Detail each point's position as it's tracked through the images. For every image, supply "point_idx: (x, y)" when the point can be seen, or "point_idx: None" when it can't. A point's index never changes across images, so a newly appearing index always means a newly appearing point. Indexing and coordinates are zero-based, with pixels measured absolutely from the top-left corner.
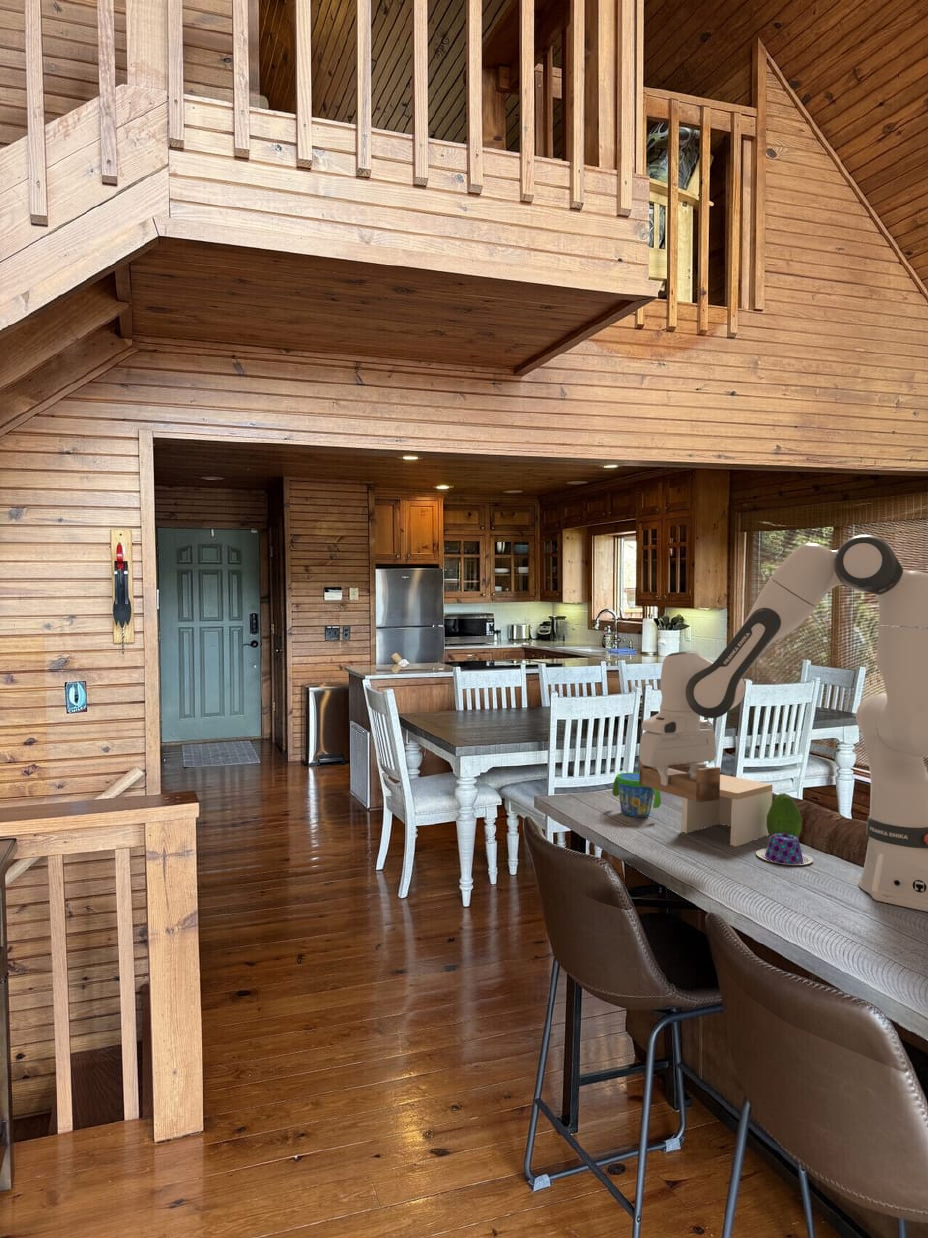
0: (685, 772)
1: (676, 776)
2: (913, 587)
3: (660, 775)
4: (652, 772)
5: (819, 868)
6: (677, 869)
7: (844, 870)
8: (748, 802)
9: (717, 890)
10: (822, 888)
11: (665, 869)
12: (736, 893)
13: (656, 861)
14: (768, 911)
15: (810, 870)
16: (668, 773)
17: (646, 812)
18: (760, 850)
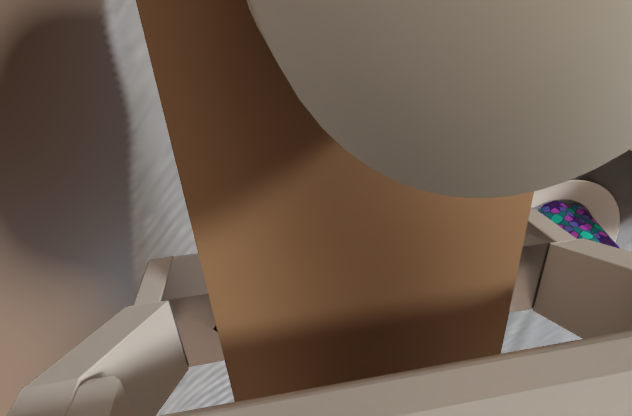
0: (511, 266)
1: (269, 394)
2: None
3: (117, 322)
4: (152, 50)
5: (538, 320)
6: (178, 247)
7: (569, 339)
8: None
9: (188, 385)
10: None
11: (136, 237)
12: (221, 403)
13: (149, 162)
14: None
15: (507, 326)
16: (284, 267)
17: None
18: (549, 187)
